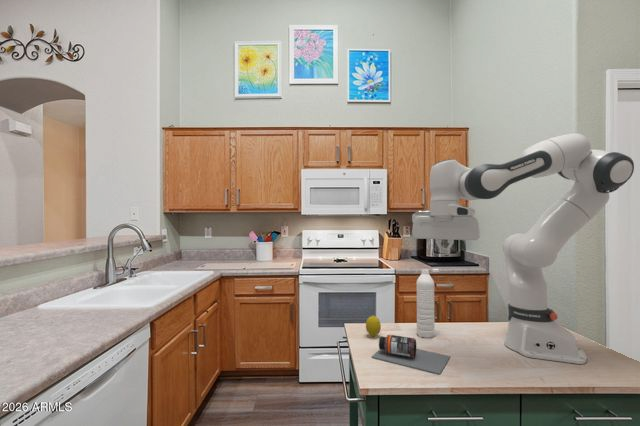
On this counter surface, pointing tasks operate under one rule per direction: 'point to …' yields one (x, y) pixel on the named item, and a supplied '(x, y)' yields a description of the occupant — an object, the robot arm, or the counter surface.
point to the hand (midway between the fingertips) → (444, 253)
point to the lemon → (373, 325)
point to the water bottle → (425, 305)
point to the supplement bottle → (398, 345)
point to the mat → (416, 360)
